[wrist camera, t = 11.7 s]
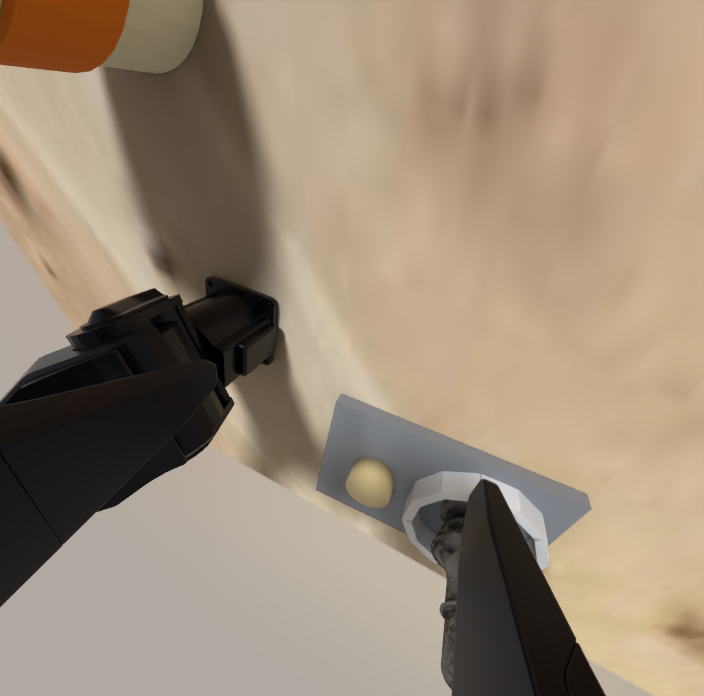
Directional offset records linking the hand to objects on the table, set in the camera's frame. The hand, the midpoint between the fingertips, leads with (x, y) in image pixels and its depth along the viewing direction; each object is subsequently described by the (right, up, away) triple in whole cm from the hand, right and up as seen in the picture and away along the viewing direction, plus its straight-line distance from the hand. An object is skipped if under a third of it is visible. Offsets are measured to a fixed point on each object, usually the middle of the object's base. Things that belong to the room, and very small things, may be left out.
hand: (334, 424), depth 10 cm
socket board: (+8, -10, +19) cm, 22 cm away
